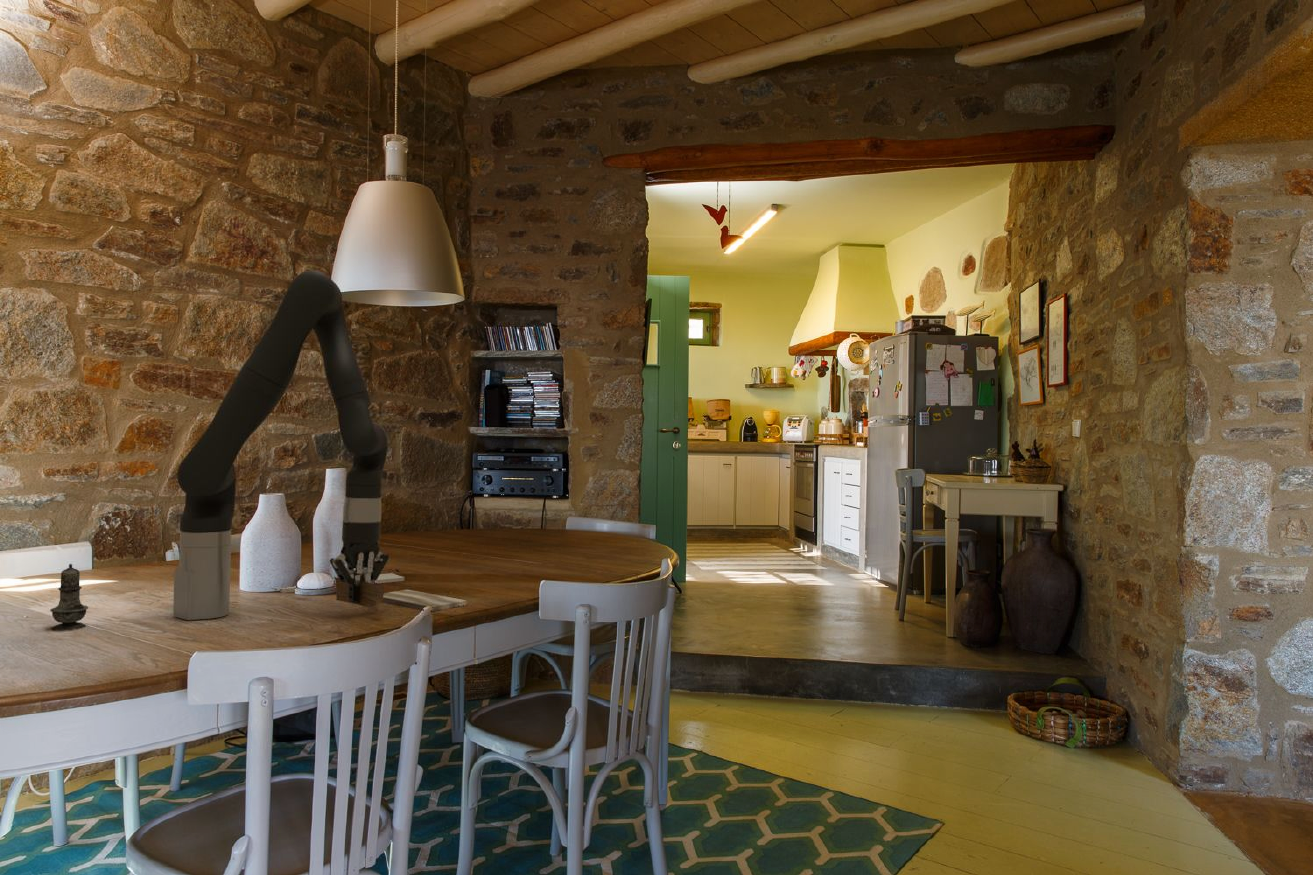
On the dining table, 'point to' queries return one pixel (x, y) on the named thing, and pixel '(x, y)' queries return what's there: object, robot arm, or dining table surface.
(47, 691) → the dining table surface
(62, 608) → the salt shaker
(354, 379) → the robot arm
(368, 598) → the driftwood piece
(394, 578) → the baseboard
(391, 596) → the floor panel
